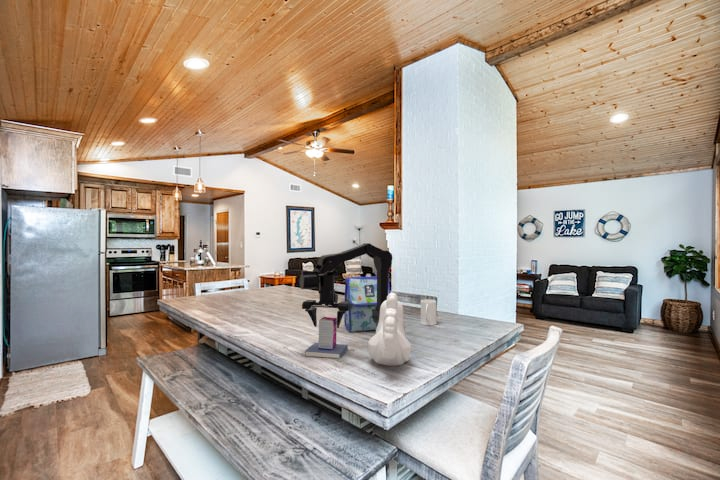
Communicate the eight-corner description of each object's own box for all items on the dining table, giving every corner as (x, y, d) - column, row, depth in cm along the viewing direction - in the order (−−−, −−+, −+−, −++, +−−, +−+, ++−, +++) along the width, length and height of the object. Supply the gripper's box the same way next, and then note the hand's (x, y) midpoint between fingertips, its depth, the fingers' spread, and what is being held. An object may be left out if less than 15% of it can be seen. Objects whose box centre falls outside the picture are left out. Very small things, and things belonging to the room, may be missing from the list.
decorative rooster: (375, 352, 137) (375, 289, 137) (415, 356, 132) (415, 291, 132) (354, 375, 113) (354, 299, 113) (402, 381, 108) (401, 302, 108)
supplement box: (332, 350, 132) (332, 320, 132) (317, 349, 133) (317, 319, 133) (336, 346, 138) (336, 317, 138) (322, 345, 139) (322, 316, 139)
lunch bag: (349, 334, 162) (349, 278, 162) (342, 326, 178) (342, 275, 178) (394, 331, 167) (394, 277, 167) (383, 323, 184) (383, 274, 184)
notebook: (347, 349, 139) (347, 344, 139) (340, 359, 129) (340, 353, 129) (314, 347, 143) (314, 342, 143) (304, 356, 132) (304, 351, 132)
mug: (433, 327, 175) (433, 303, 175) (416, 325, 178) (416, 302, 178) (438, 322, 186) (438, 300, 186) (422, 320, 189) (422, 299, 189)
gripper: (354, 285, 141) (354, 323, 141) (311, 284, 146) (311, 321, 146) (347, 289, 131) (347, 330, 130) (301, 287, 135) (301, 327, 135)
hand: (326, 327), depth 136 cm, fingers open, 9 cm apart
